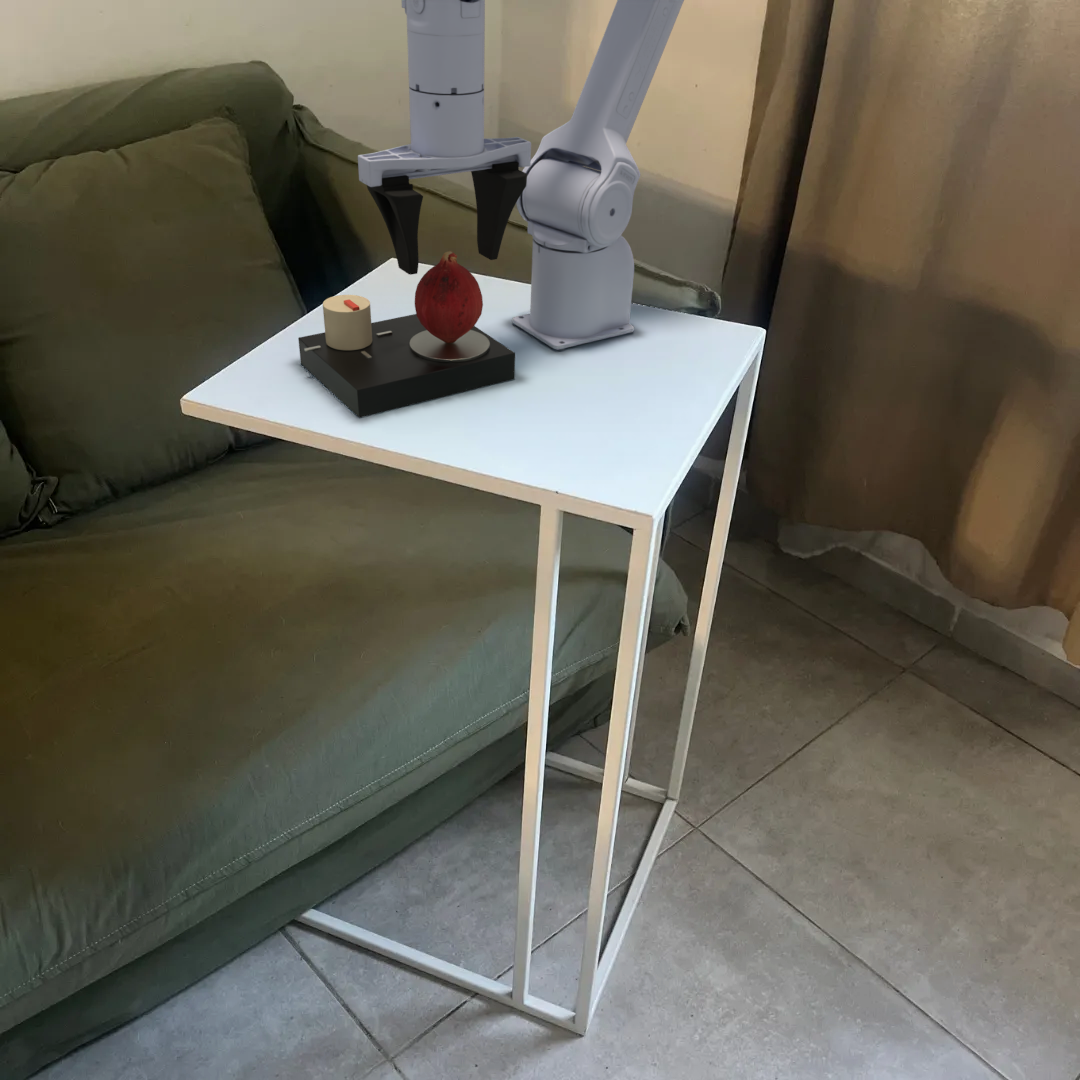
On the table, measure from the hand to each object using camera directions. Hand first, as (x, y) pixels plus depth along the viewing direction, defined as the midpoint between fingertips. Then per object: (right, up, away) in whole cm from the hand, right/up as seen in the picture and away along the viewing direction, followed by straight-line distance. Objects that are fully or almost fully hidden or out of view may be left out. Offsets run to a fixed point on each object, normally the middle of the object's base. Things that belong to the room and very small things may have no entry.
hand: (448, 263), depth 84 cm
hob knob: (-9, -6, +4) cm, 11 cm away
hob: (-4, -8, +5) cm, 11 cm away
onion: (0, -6, +4) cm, 7 cm away
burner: (0, -6, +4) cm, 7 cm away
